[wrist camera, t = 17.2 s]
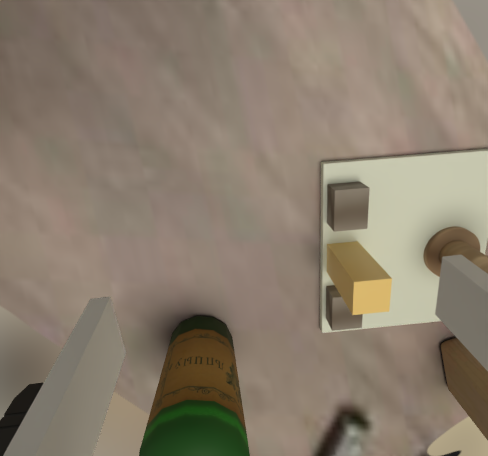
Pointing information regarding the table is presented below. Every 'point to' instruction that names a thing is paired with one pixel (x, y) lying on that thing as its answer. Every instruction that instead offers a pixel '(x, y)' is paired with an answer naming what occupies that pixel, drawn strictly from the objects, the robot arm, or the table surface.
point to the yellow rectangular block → (358, 278)
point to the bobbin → (453, 248)
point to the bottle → (197, 396)
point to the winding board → (407, 222)
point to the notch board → (342, 219)
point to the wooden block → (467, 382)
